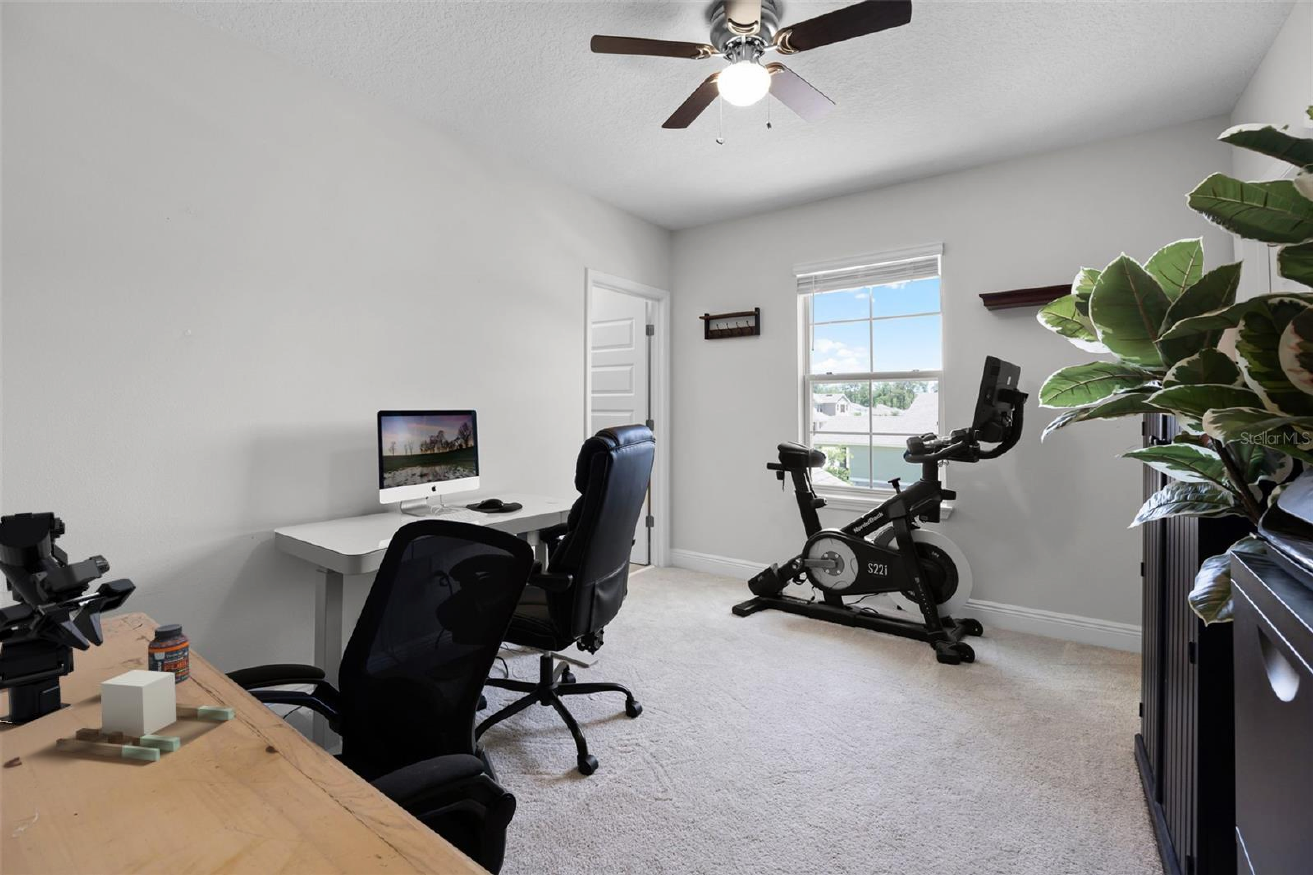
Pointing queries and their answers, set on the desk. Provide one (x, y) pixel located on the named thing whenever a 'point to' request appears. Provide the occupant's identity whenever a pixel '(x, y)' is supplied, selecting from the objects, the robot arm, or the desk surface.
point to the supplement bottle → (170, 652)
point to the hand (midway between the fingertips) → (94, 646)
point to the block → (138, 702)
